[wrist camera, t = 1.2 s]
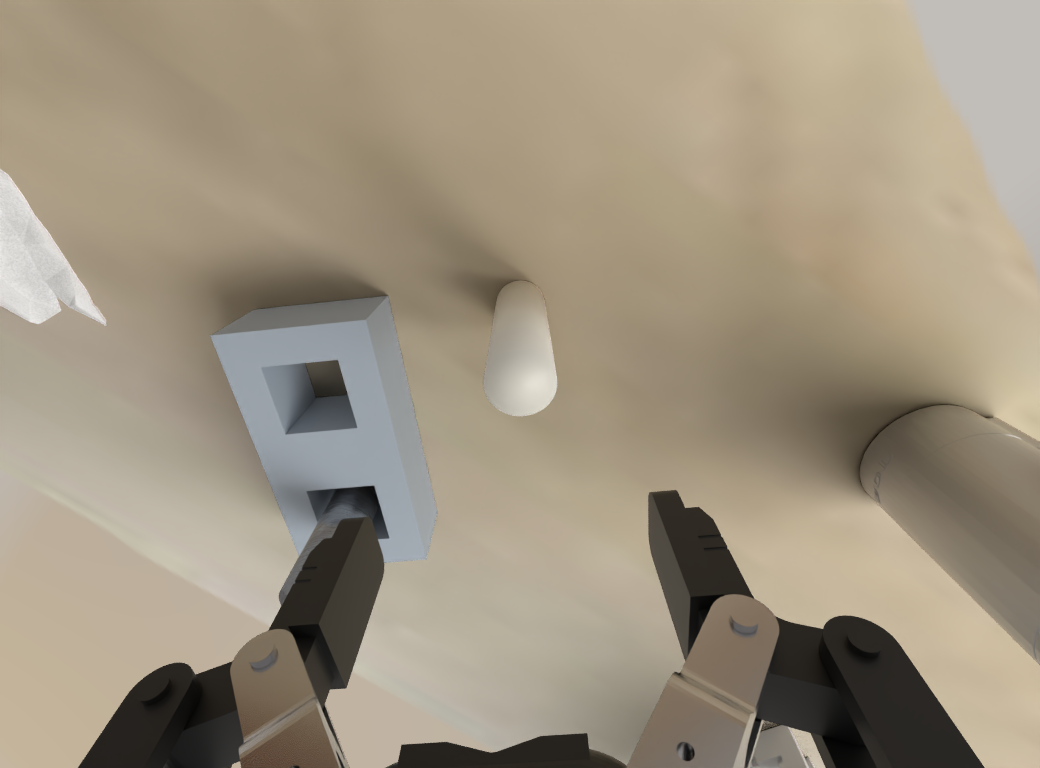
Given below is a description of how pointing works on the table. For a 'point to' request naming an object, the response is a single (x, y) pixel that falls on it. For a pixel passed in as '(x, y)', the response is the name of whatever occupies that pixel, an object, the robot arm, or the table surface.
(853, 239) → the table surface
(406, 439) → the hole block
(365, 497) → the grey peg
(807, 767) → the toy
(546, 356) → the cream peg
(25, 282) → the cloth
